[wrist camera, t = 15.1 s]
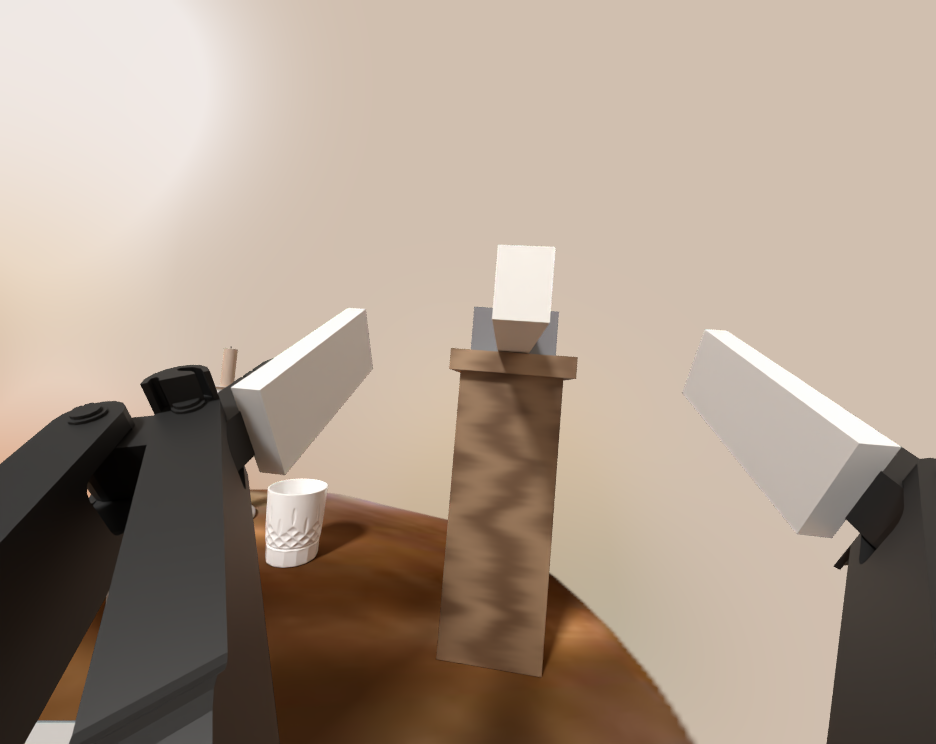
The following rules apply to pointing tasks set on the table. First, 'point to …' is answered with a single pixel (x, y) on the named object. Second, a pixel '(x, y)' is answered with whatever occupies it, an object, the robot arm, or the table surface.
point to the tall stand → (501, 509)
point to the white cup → (294, 521)
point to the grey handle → (519, 304)
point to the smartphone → (51, 732)
